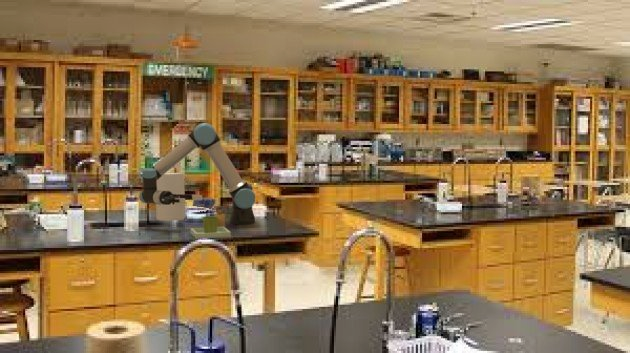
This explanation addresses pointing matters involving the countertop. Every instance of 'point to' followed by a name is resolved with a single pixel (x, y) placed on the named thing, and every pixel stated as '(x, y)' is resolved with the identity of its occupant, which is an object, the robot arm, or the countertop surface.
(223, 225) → the reagent bottle
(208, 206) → the mineral
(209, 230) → the plant pot
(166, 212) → the cylinder
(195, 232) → the tray
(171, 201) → the robot arm
